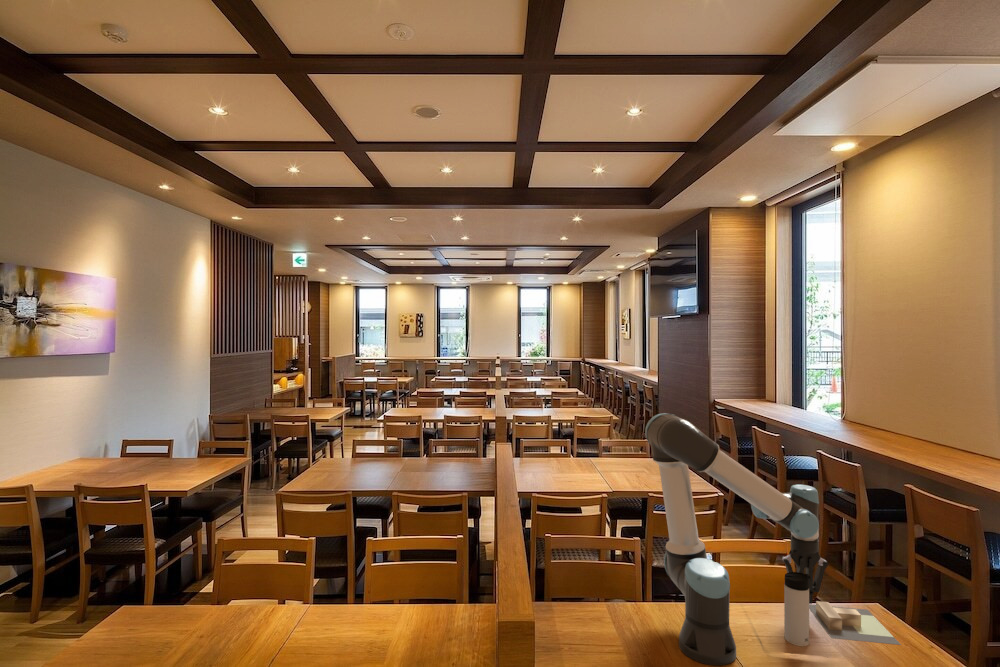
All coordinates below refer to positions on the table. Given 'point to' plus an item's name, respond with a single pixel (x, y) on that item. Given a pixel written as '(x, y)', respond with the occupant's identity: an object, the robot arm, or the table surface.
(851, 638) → the mat
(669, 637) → the table surface
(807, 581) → the travel mug
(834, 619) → the T block
